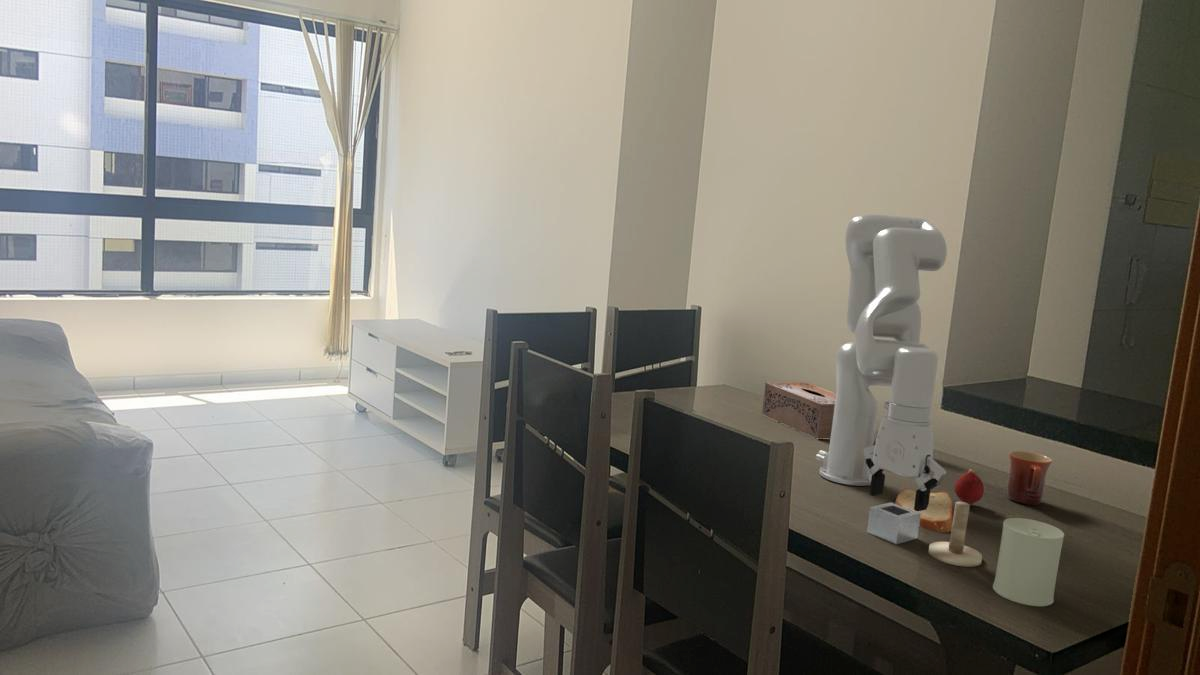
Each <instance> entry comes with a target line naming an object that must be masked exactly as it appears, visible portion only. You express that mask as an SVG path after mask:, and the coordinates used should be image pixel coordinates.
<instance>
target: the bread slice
mask: <svg viewBox="0 0 1200 675" xmlns="http://www.w3.org/2000/svg"><path fill="white" fill-rule="evenodd" d="M915 497H916V491H915V490H914V489H911V488H909V487H905V488H904V489H902V490H901V491H900V492H899V493H898V494H897V496H896V499H895V503H894V504H897V505H900V506H902V507H905V508H908V509H910V510H913V511H915V510H914V504H915ZM954 509H955V507H954V502H953V500H952V498H951V496H950V495H949V494H948V492H946V491H943V492H930V497H929V504H928V507H927V509H926V510H922V511H916V512H918V513H921V516H920V523H919V528H923V529H925V530H929V531H930V530H931V531H933V532H934V531H935V532H938V533H949V532H950V533H951V529H952V523H953V516H954Z"/></svg>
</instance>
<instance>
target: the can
mask: <svg viewBox="0 0 1200 675" xmlns="http://www.w3.org/2000/svg"><path fill="white" fill-rule="evenodd" d="M1002 524H1003V525H1002V532H1001V538H1000V539H1001V540H1000V547H999V553H998V559H997V566H996V571H995V577H994V581H993V584H992V589H993V590H994V592H995V593H997V594H998V595H999V596H1001V597H1002V598H1004V599H1007V600H1009V601H1011V602H1014V603H1017V604H1021V605H1024V606H1031V607H1047V606H1050V605H1052V604H1054V601H1055V599H1054V594H1055V588H1056V583H1057V575H1058V569H1059V564H1060V558H1061V551H1062V547H1063V542H1064V539H1065V538H1064V537H1065V533H1064V532H1063V531H1062V530H1061V529H1060V528H1058V527H1056V526H1054V525H1052V524H1049V523H1047V522H1043V521H1039V520H1036V519H1030V518H1022V517H1013V518H1012V517H1010V518H1006V519H1004V520H1003V523H1002Z"/></svg>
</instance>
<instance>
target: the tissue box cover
mask: <svg viewBox="0 0 1200 675" xmlns="http://www.w3.org/2000/svg"><path fill="white" fill-rule="evenodd" d="M763 393H764V395H763V401H762V410H761V412H762V413H761V415H762V414H764V415H766V416H768V417H770V418H773V419H775V420H777V421H779V422H781V423H784V424H786V425H788V426H790V427H793V428H795V429H797V430H799V431H801V432H804V433H806V434H809V435H811V436H813V437H815V438H819V439H820V438H822V439H823V438H831V431H832V423H833V415H834V406H835V398H836V391H835V392H834V391H831V390H828V389H826V388H823V387H821V386H817V385H814V384H811V383H809V382H807V381H805V382H804V381H801V382H800V381H799V382H798V381H797V382H793V381H792V382H789V381H788V382H765V385H764V392H763ZM801 432H800V433H801Z"/></svg>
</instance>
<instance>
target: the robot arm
mask: <svg viewBox="0 0 1200 675" xmlns="http://www.w3.org/2000/svg"><path fill="white" fill-rule="evenodd" d="M845 231H846V232H845V250H846V255H847V260H848V264H849V271H850V272H849V273H850V274H849V276H850V280H849V289H848V297H847V298H848V299H847V300H848V301H847V313H846V323H847V324H846V325H847V328H848V331H850V332H851V333H853V334H854V335H855V336H854V337H855V341H849V342H847V343H844V344H842V345H841V346H840V347H839V349H838V350H837V351H836V358H835V368H836V369H835V370H836V388H835V393H836V398H835V406H834V415H833V423H832V431H831V439H829V448H828V451H825V450H823V449H820V450H819V451H818V453H817V454H816V455H815V460H818V461H821V462H823V464H822V466H820V468H819V475H820V476H821V477H823V478H824V479H825V480H829V481H831V482H834V483H837V484H841V485H847V486H859V487H861V486H862V487H863V486H865V487H867V486H870V488H869V489H870V492H869V495H870V496H873V497H875V496H880V495H881V496H882V494H884V489H885V480H886V474H885V473H884V472H885V471H886V472H888V473H892V474H894V475H898V476H901V477H905V478H908V479H914V480H915V482H916V485H918V488H919V489H916V491H915V492H916V497H915V504H914V510H915V511H922V510H926V509H927V507H928V504H929V497H930V493H931V490H934V488H935V487H937V486H938V485H940V484H941V481H942V480H943V479H944V478H945V476H946V475H947V471H946V469H944V468H943V467H942V466H941V465H940V464H939V463H938V462H937V461H936V460H935V459H934V430H933V429H934V428H933V424H930V422H931V415H932V408H933V399H934V392H935V385H936V378H937V370H938V362H939V361H938V360H939V356H938V354H937V352H935V351H934V350H932V349H930V347H929V346H927V345H926V344H923V343H920V338H921V329H922V312H921V308H920V306H919V303H918V301H919V299H920V298H921V288H920V278H919V277H920V276H919V271H924V272H937V271H939V270H940V269H942V268H943V267H944V265H945V263H946V259H947V254H948V253H947V251H948V248H947V244H946V243H947V242H946V239H945V236H944V235H943V234H942V232H941V231H940V230H939V228H937V227H936V226H935V225H934V224H933V223H931V222H930V221H929V220H927V219H923V218H919V217H918V218H916V217H906V216H894V215H885V214H861V215H857V216H855V217H853V218H851V219H850V221H849V222H848V224H847V227H846V230H845ZM877 338H880V339H877ZM882 338H884V339H882ZM885 338H886V339H885ZM891 339H893V340H891ZM872 386H873V387H874V386H875V387H876V386H877V387H890V392H889V393H890V395H889V401H885V403H884V404H883V407H884V409H886V410H887V415H885V416H883V417H882V420H881V423H880V424H879V429H878V432H877V436H876V439H875V435H876V428H877V420H878V412H879V405H878V401H877V399H876V397H875V395H874V394H873V392H872V391H871V390H870V387H872ZM874 442H875V444H874ZM931 471H932V472H933V476H932V477H930V475H931Z"/></svg>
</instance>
